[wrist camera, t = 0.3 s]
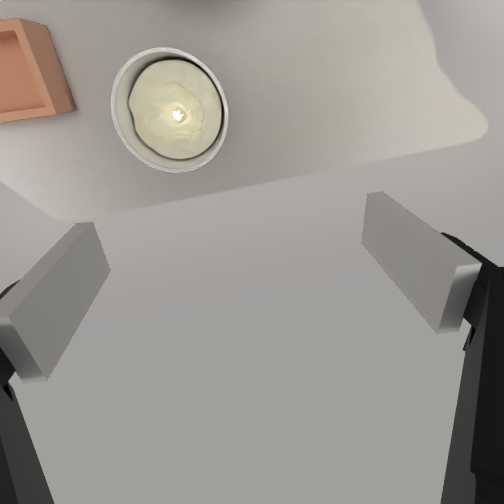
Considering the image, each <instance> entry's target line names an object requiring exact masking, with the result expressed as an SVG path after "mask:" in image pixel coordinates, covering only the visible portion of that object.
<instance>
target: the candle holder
mask: <svg viewBox="0 0 504 504" xmlns="http://www.w3.org/2000/svg"><path fill="white" fill-rule="evenodd" d="M111 114H112V119H113V122H114V126H115V128H116V131H117V133H118V135H119V137H120V139H121V140H122V142H123V143H124V145H125V146H126V147H127V149H128V150H129V151H130V152H131V153H132V154H133V155H134V156H135V157H136V158H138V159H139V160H140V161H142V162H143V163H145V164H146V165H148V166H150V167H152V168H154V169H157V170H160V171H164V172H170V173H183V172H189V171H192V170H195V169H198V168H200V167H202V166H203V165H205V164H206V163H208V162H209V161H210V160H211V159H212V158H213V157H214V156H215V155H216V154H217V152H218V151H219V150H220V148H221V146H222V144H223V142H224V140H225V137H226V134H227V129H228V121H229V114H228V105H227V101H226V97H225V94H224V91H223V89H222V87H221V85H220V83H219V81H218V80H217V78H216V76H215V75H214V74H213V72H212V71H211V70H210V69H209V68H208V67H207V66H206V65H205V64H204V63H203V62H202V61H200V60H199V59H198V58H196V57H195V56H193V55H191V54H189V53H187V52H185V51H182V50H179V49H175V48H169V47H156V48H150V49H147V50H144V51H142V52H139V53H138V54H136V55H134V56H133V57H131V58H130V59H129V60H128V61H127V62H126V63H125V64H124V65H123V66H122V68H121V69H120V71H119V72H118V74H117V76H116V78H115V81H114V83H113V87H112V92H111Z"/></svg>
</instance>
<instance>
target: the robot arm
mask: <svg viewBox="0 0 504 504" xmlns="http://www.w3.org/2000/svg"><path fill="white" fill-rule="evenodd" d="M362 244H363V246H364V247H365V248H366V249H367V250H368V252H369V253H370V254H371V255H372V256H373V258H374V259H375V260H376V261H377V262H378V264H379V265H380V266H381V267H382V268H383V270H384V271H385V272H386V273H387V275H388V276H389V277H390V278H391V279H392V280H393V282H394V283H395V284H396V285H397V287H398V288H399V289H400V290H401V291H402V292H403V294H404V295H405V296H406V297H407V299H408V300H409V301H410V302H411V303H412V305H413V306H414V307H415V308H416V309H417V311H418V312H419V313H420V314H421V316H422V317H423V318H424V319H425V320H426V322H427V323H428V324H429V325H430V326H431V328H432V329H433V330H434V331H435V332H436V334H441V333H449V332H458V331H459V329H460V326H461V323H462V320H463V317H464V318H465V319H466V320H467V321H468V322H469V323H470V324H471V325H472V326H471V329H470V331H469V334H468V337H467V340H466V342H465V345H464V348H463V350H464V351H466V352H465V358H464V365H463V370H462V377H461V383H460V389H459V395H458V401H457V407H456V413H455V419H454V425H453V431H452V437H451V443H450V449H449V455H448V462H447V467H446V473H445V480H444V486H443V492H442V498H441V504H504V267H498V266H497V265H495V264H494V263H492V262H491V261H489V260H488V259H487V258H485V257H483V256H482V255H481V254H479V253H478V252H476V251H474V249H472V248H471V247H469V246H466V244H465V243H463V242H462V241H461V240H459V239H458V238H456V237H453V236H451V235H448V234H446V233H443V232H442V233H439V232H438V231H437V230H435V229H434V228H432V227H431V226H430V225H428V224H427V223H425V222H424V221H423V220H421V219H420V218H419V217H417V216H416V215H414V214H413V213H412V212H410V211H409V210H408V209H406V208H405V207H403V206H402V205H401V204H399V203H398V202H396V201H395V200H394V199H392V198H391V197H389V196H388V195H387V194H385V193H384V192H374V193H367V199H366V209H365V217H364V226H363V235H362ZM110 271H111V270H110V268H109V265H108V262H107V259H106V256H105V254H104V251H103V248H102V245H101V243H100V240H99V237H98V234H97V232H96V229H95V226H94V223H93V222H85V223H76V224H75V225H74V226H73V227H72V228H71V229H70V230H69V231H68V232H67V234H65V235H64V236H63V237H62V238H61V240H59V241H58V242H57V243H56V244H55V246H53V247H52V248H51V250H49V251H48V253H46V254H45V255H44V256H43V257H42V258H41V259H40V261H39V262H37V263H36V265H35V266H33V267H32V268H31V270H29V272H28V273H26V275H25V276H24V277H23V278H22V279H20V280H18V281H17V282H15V283H14V284H12V285H10V286H9V287H7V288H6V289H5V290H4V291H3V292H2V293H1V294H0V504H54V501H53V499H52V496H51V493H50V490H49V488H48V485H47V482H46V479H45V476H44V473H43V471H42V468H41V465H40V462H39V459H38V457H37V454H36V451H35V448H34V446H33V443H32V440H31V437H30V434H29V432H28V429H27V426H26V423H25V420H24V418H23V415H22V412H21V409H20V406H19V404H18V401H17V398H16V395H15V393H14V390H13V388H12V386H11V385H10V384H9V382H8V381H9V379H10V378H11V376H12V375H13V374H14V372H15V371H16V373H17V374H18V376H19V377H20V379H21V380H22V382H23V383H30V382H39V381H47V380H48V379H49V377H50V375H51V373H52V372H53V370H54V368H55V366H56V365H57V363H58V361H59V359H60V358H61V356H62V354H63V353H64V351H65V349H66V347H67V346H68V344H69V342H70V340H71V339H72V337H73V335H74V333H75V332H76V330H77V328H78V327H79V325H80V323H81V321H82V320H83V318H84V316H85V314H86V313H87V311H88V309H89V307H90V306H91V304H92V302H93V300H94V299H95V297H96V295H97V294H98V292H99V290H100V288H101V287H102V285H103V283H104V281H105V280H106V278H107V276H108V274H109V272H110Z"/></svg>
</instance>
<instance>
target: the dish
mask: <svg viewBox="0 0 504 504" xmlns="http://www.w3.org/2000/svg"><path fill="white" fill-rule="evenodd" d="M75 110H77V109H76V106H75V103H74V101H73V98H72V95H71V92H70V90H69V87H68V84H67V81H66V79H65V76H64V73H63V70H62V68H61V65H60V62H59V59H58V57H57V54H56V51H55V48H54V46H53V43H52V40H51V37H50V35H49V32H48V29H47V26H45V25H41V24H38V23H34V22H31V21H27V20H24V19H21V18H15V19H7V20H0V122H5V121H13V120H20V119H27V118H35V117H42V116H50V115H57V114H62V113H66V112H71V111H75Z"/></svg>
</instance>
